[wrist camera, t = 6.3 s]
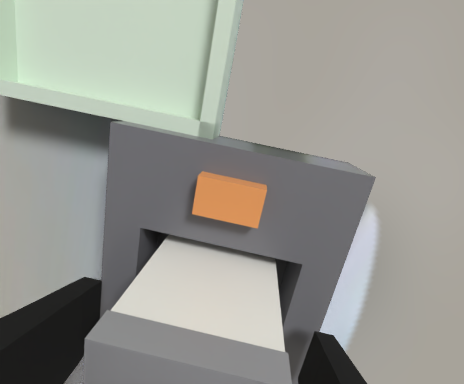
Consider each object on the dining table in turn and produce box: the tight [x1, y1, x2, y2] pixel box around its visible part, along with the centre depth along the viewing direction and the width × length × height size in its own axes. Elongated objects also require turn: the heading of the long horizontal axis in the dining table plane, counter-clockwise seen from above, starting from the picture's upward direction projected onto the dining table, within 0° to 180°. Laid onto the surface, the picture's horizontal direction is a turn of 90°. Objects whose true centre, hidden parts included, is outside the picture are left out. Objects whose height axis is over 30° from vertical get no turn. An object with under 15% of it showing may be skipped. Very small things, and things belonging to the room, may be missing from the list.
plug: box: [83, 234, 292, 384], centre depth 9 cm, size 4×4×6 cm
